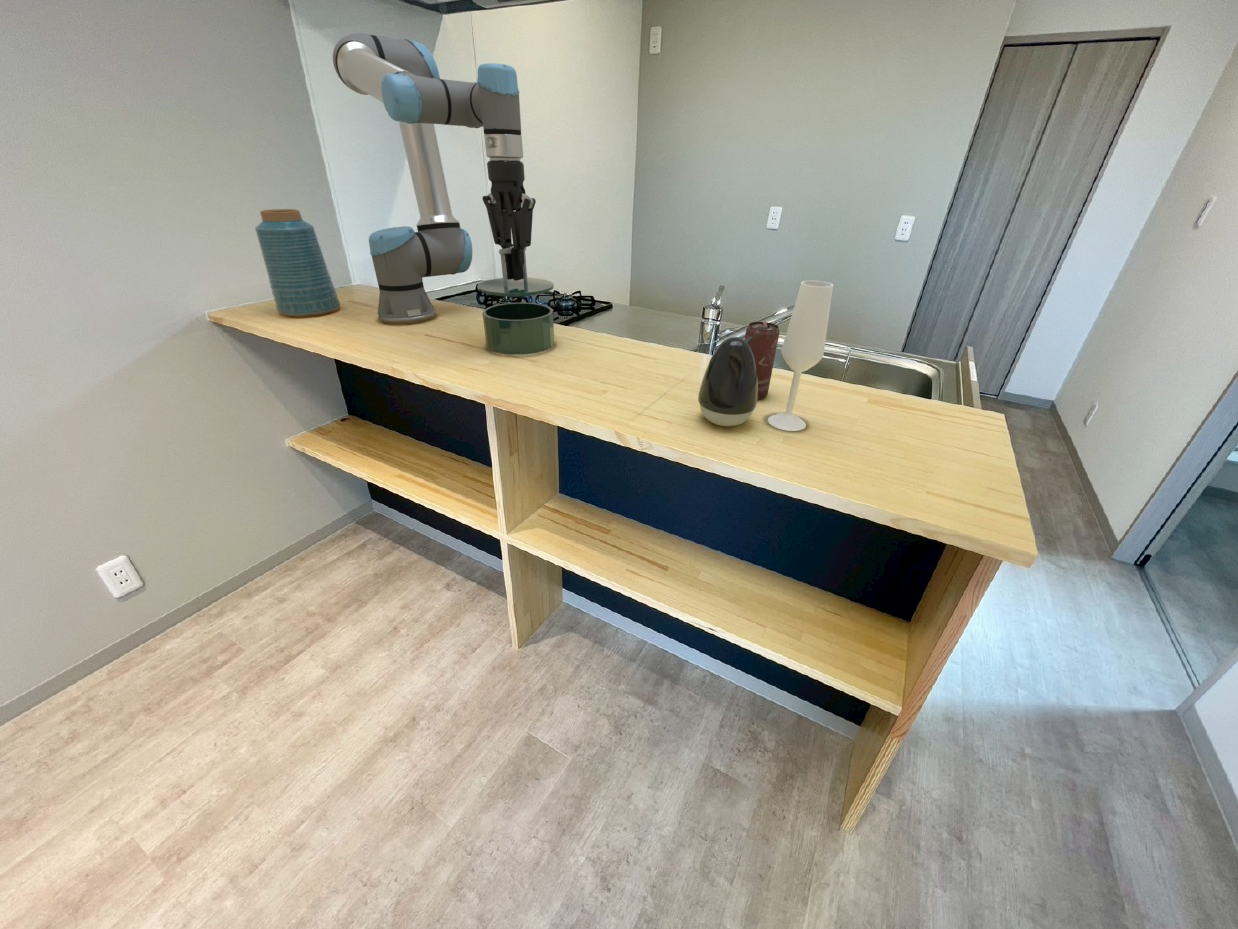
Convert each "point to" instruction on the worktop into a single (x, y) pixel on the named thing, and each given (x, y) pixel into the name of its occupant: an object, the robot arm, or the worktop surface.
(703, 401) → the dark grey egg shape
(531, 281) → the lid
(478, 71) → the robot arm
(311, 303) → the vase
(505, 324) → the pot
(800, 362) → the champagne flute
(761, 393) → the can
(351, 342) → the worktop surface
